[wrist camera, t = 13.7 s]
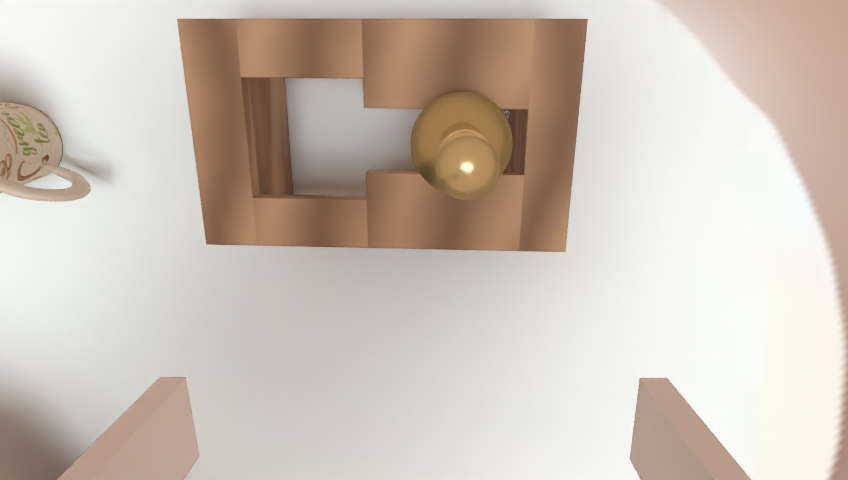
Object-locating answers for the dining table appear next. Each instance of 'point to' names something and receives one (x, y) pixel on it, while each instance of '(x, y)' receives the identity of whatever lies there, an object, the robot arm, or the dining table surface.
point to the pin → (462, 144)
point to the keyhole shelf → (383, 88)
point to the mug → (33, 155)
